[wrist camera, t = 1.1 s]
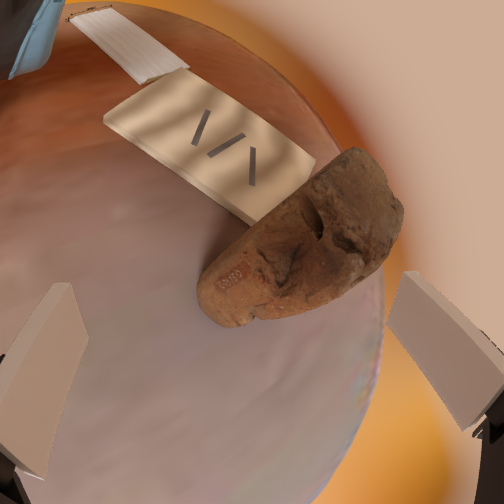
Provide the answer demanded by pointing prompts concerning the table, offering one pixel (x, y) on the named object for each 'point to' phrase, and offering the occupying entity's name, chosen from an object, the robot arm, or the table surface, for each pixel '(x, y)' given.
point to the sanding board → (213, 143)
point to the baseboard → (128, 45)
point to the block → (306, 246)
